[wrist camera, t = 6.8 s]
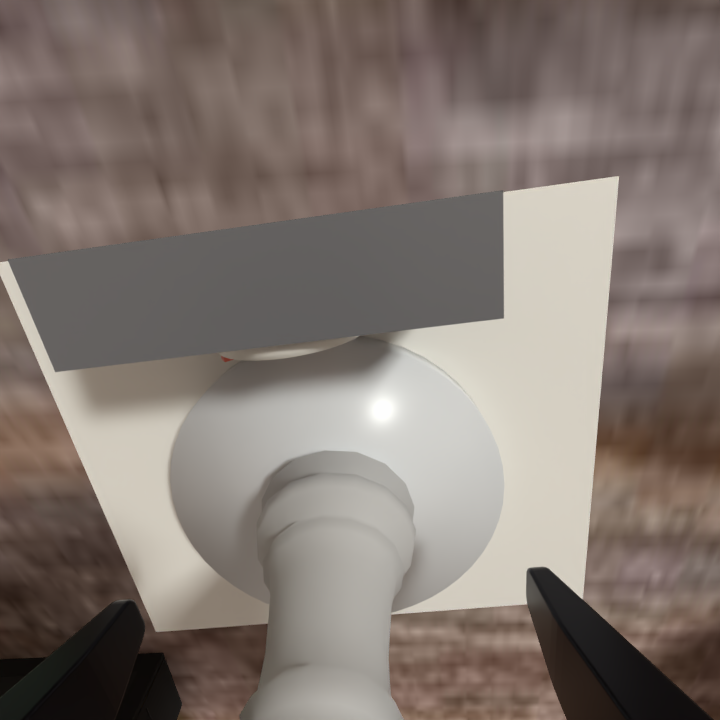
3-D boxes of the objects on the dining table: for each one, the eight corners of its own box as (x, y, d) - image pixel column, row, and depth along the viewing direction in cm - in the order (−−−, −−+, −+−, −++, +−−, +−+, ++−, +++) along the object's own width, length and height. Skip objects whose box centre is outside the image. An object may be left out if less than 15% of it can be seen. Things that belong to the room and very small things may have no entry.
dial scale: (561, 184, 12) (783, 150, 6) (547, 536, 17) (659, 738, 10) (73, 252, 13) (-214, 290, 7) (189, 566, 18) (87, 768, 11)
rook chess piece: (320, 411, 11) (232, 861, 3) (443, 492, 12) (588, 982, 4) (236, 515, 12) (35, 1009, 5) (353, 580, 13) (345, 1078, 6)
